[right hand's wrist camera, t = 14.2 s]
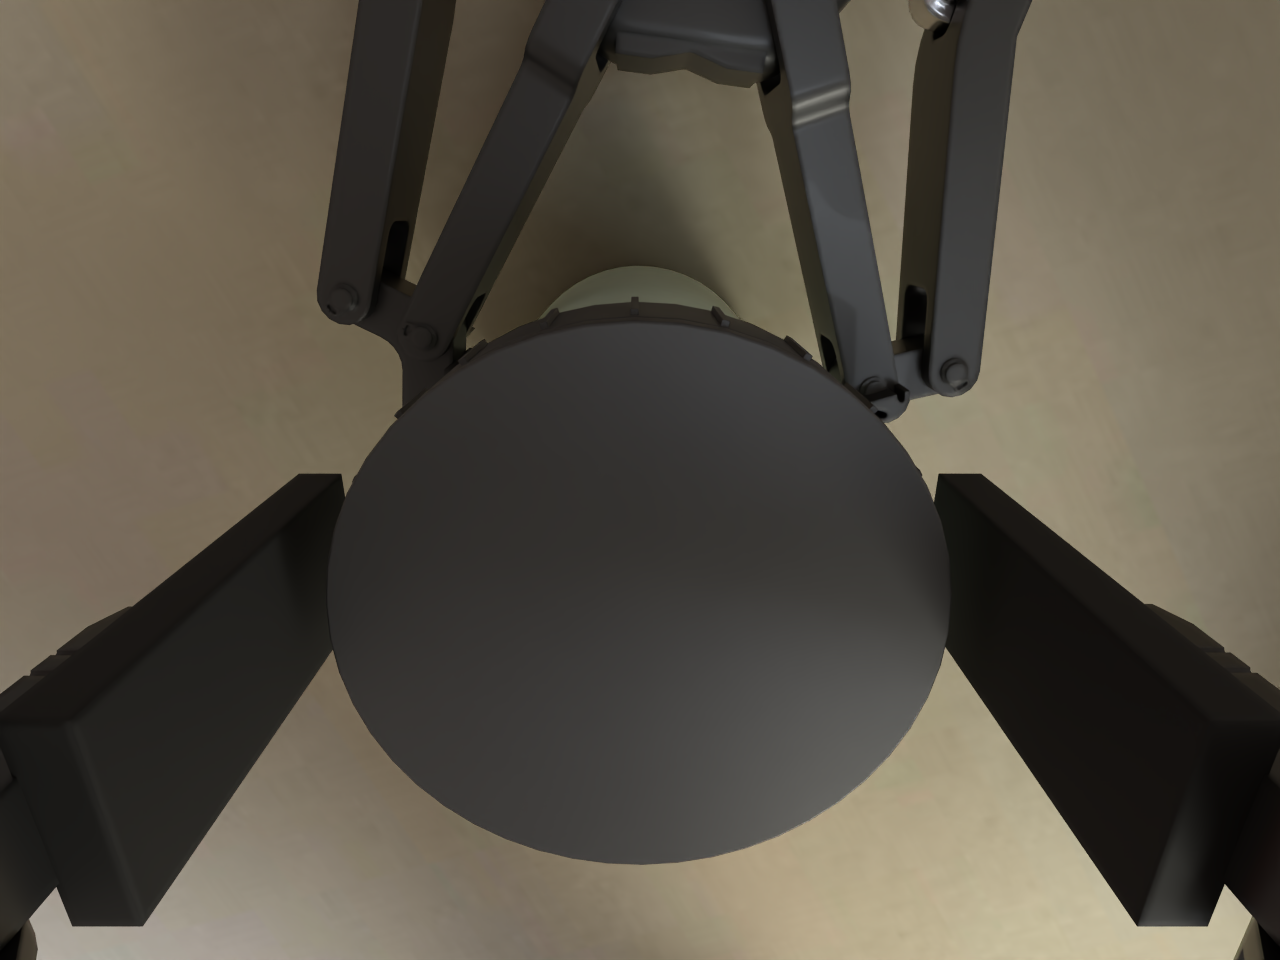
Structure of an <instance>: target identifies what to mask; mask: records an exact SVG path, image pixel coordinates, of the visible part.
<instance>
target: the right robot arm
mask: <svg viewBox="0 0 1280 960" xmlns="http://www.w3.org/2000/svg"><path fill="white" fill-rule="evenodd" d="M344 500H345V494H344V487H343V481H342V475H341V474H298V475H297V476H296V477H294V478H293V479H292V480H291V481H289V482H288V483H287V484H286V485H284V486H283V487H282V488H281V489H279V490H278V491H277V492H276V493H274V494H273V495H272V496H271V497H269V498H268V499H267V500H266V501H264V502H263V503H262V504H260V505H259V506H258V507H257V508H255V509H254V510H253V511H252V512H250V513H249V514H248V515H247V516H245V517H244V518H243V519H242V520H240V521H239V522H238V523H237V524H235V525H234V526H233V527H232V528H230V529H229V530H228V531H227V532H225V533H224V534H223V535H222V536H220V537H219V538H218V539H217V540H215V541H214V542H213V543H212V544H210V545H209V546H208V547H207V548H205V549H204V550H203V551H202V552H200V553H199V554H198V555H197V556H195V557H194V558H193V559H192V560H190V561H189V562H188V563H187V564H185V565H184V566H183V567H182V568H180V569H179V570H178V571H177V572H175V573H174V574H173V575H172V576H170V577H169V578H168V579H167V580H165V581H164V582H163V583H161V584H160V585H159V586H158V587H156V588H155V589H154V590H153V591H151V592H150V593H149V594H148V595H146V596H145V597H144V598H143V599H141V600H140V601H139V602H138V603H136V604H135V605H134V606H133V607H127V608H125V609H123V610H121V611H119V612H116V613H114V614H112V615H110V616H108V617H106V618H104V619H102V620H100V621H98V622H96V623H94V624H92V625H90V626H88V627H87V628H85V629H84V630H83V631H81V632H80V633H79V634H78V635H76V636H75V637H74V638H72V639H71V640H70V641H68V642H67V643H66V644H65V645H63V646H62V647H61V648H59V649H58V650H57V654H56V655H50V656H49V657H48V658H46V659H45V660H44V661H42V662H41V663H40V664H39V665H37V666H36V667H35V668H33V669H32V670H31V674H30V676H23V677H22V678H20V679H19V680H18V681H16V682H15V683H14V684H13V685H11V686H10V687H9V688H7V689H6V690H5V691H4V692H2V693H1V694H0V960H36V956H37V950H38V948H37V942H36V937H35V932H34V930H33V928H32V925H31V923H30V921H29V918H30V917H31V916H32V915H33V913H34V912H35V911H36V910H37V909H38V907H39V906H40V905H41V904H42V903H43V902H44V900H45V899H46V898H47V897H48V896H49V895H50V893H51V892H52V891H53V890H54V889H55V888H56V887H57V889H58V892H59V894H60V897H61V899H62V902H63V904H64V907H65V909H66V912H67V914H68V917H69V919H70V922H71V924H72V926H143V925H144V924H145V922H146V921H147V919H148V918H149V917H150V915H151V914H152V912H153V911H154V909H155V908H156V906H157V905H158V903H159V902H160V901H161V899H162V898H163V896H164V895H165V893H166V892H167V890H168V889H169V887H170V886H171V884H172V883H173V882H174V880H175V879H176V877H177V876H178V874H179V873H180V871H181V870H182V868H183V867H184V866H185V864H186V863H187V861H188V860H189V858H190V857H191V855H192V854H193V852H194V851H195V850H196V848H197V847H198V845H199V844H200V842H201V841H202V839H203V838H204V836H205V835H206V833H207V832H208V831H209V829H210V828H211V826H212V825H213V823H214V822H215V820H216V819H217V817H218V816H219V815H220V813H221V812H222V810H223V809H224V807H225V806H226V804H227V803H228V801H229V800H230V799H231V797H232V796H233V794H234V793H235V791H236V790H237V788H238V787H239V785H240V784H241V782H242V781H243V780H244V778H245V777H246V775H247V774H248V772H249V771H250V769H251V768H252V766H253V765H254V764H255V762H256V761H257V759H258V758H259V756H260V755H261V753H262V752H263V750H264V749H265V747H266V746H267V745H268V743H269V742H270V740H271V739H272V737H273V736H274V734H275V733H276V731H277V730H278V729H279V727H280V726H281V724H282V723H283V721H284V720H285V718H286V717H287V715H288V714H289V713H290V711H291V710H292V708H293V707H294V705H295V704H296V702H297V701H298V699H299V698H300V696H301V695H302V694H303V692H304V691H305V689H306V688H307V686H308V685H309V683H310V682H311V680H312V679H313V678H314V676H315V675H316V673H317V672H318V670H319V669H320V667H321V666H322V664H323V663H324V662H325V660H326V659H327V657H328V656H329V654H330V653H331V651H332V650H333V647H332V644H331V640H330V634H329V626H328V617H327V609H326V582H327V563H328V558H329V553H330V548H331V542H332V537H333V532H334V528H335V525H336V522H337V520H338V517H339V514H340V511H341V508H342V506H343V503H344ZM934 505H935V507H936V510H937V512H938V515H939V517H940V520H941V522H942V527H943V531H944V536H945V540H946V545H947V549H948V554H949V558H950V573H951V589H952V600H951V611H950V623H949V632H948V637H947V641H946V645H945V647H946V648H947V650H948V651H949V653H950V654H951V656H952V657H953V659H954V660H955V662H956V663H957V664H958V666H959V667H960V669H961V670H962V672H963V673H964V675H965V676H966V678H967V679H968V680H969V682H970V683H971V685H972V686H973V688H974V689H975V691H976V692H977V694H978V695H979V696H980V698H981V699H982V701H983V702H984V704H985V705H986V707H987V708H988V710H989V711H990V713H991V714H992V715H993V717H994V718H995V720H996V721H997V723H998V724H999V726H1000V727H1001V729H1002V730H1003V731H1004V733H1005V734H1006V736H1007V737H1008V739H1009V740H1010V742H1011V743H1012V745H1013V746H1014V747H1015V749H1016V750H1017V752H1018V753H1019V755H1020V756H1021V758H1022V759H1023V761H1024V762H1025V764H1026V765H1027V766H1028V768H1029V769H1030V771H1031V772H1032V774H1033V775H1034V777H1035V778H1036V780H1037V781H1038V782H1039V784H1040V785H1041V787H1042V788H1043V790H1044V791H1045V793H1046V794H1047V796H1048V797H1049V799H1050V800H1051V801H1052V803H1053V804H1054V806H1055V807H1056V809H1057V810H1058V812H1059V813H1060V815H1061V816H1062V817H1063V819H1064V820H1065V822H1066V823H1067V825H1068V826H1069V828H1070V829H1071V831H1072V832H1073V833H1074V835H1075V836H1076V838H1077V839H1078V841H1079V842H1080V844H1081V845H1082V847H1083V848H1084V850H1085V851H1086V852H1087V854H1088V855H1089V857H1090V858H1091V860H1092V861H1093V863H1094V864H1095V866H1096V867H1097V868H1098V870H1099V871H1100V873H1101V874H1102V876H1103V877H1104V879H1105V880H1106V882H1107V883H1108V884H1109V886H1110V887H1111V889H1112V890H1113V892H1114V893H1115V895H1116V896H1117V898H1118V899H1119V901H1120V902H1121V903H1122V905H1123V906H1124V908H1125V909H1126V911H1127V912H1128V914H1129V915H1130V917H1131V918H1132V919H1133V921H1134V922H1135V924H1136V925H1137V926H1208V924H1209V922H1210V919H1211V917H1212V914H1213V912H1214V909H1215V907H1216V904H1217V902H1218V899H1219V897H1220V894H1221V892H1222V889H1223V887H1224V884H1225V885H1226V886H1227V887H1228V888H1229V889H1230V890H1231V892H1232V893H1233V894H1234V895H1235V896H1236V897H1237V899H1238V900H1239V901H1240V902H1241V903H1242V904H1243V906H1244V907H1245V908H1246V909H1247V910H1248V911H1249V912H1250V914H1251V915H1252V918H1251V921H1250V923H1249V925H1248V928H1247V930H1246V932H1245V935H1244V937H1243V939H1242V941H1241V944H1240V946H1239V948H1238V951H1237V953H1236V955H1235V958H1234V960H1280V690H1279V689H1278V688H1276V687H1275V686H1274V685H1272V684H1271V683H1270V682H1268V681H1267V680H1266V679H1264V678H1263V677H1262V676H1261V675H1259V674H1258V673H1251V671H1250V667H1249V666H1247V665H1246V664H1245V663H1243V662H1242V661H1241V660H1240V659H1238V658H1237V657H1236V656H1234V655H1233V654H1232V653H1225V651H1224V647H1223V646H1221V645H1220V644H1219V643H1217V642H1216V641H1215V640H1213V639H1212V638H1211V637H1209V636H1208V635H1207V634H1206V633H1204V632H1203V631H1202V630H1200V629H1199V628H1198V627H1196V626H1195V625H1194V624H1192V623H1190V622H1188V621H1186V620H1184V619H1182V618H1180V617H1178V616H1176V615H1174V614H1172V613H1170V612H1167V611H1165V610H1163V609H1161V608H1159V607H1157V606H1155V605H1153V604H1144V603H1142V602H1141V601H1140V600H1139V599H1137V598H1136V597H1135V596H1134V595H1132V594H1131V593H1130V592H1129V591H1127V590H1126V589H1125V588H1124V587H1122V586H1121V585H1120V584H1119V583H1117V582H1116V581H1115V580H1113V579H1112V578H1111V577H1110V576H1108V575H1107V574H1106V573H1105V572H1103V571H1102V570H1101V569H1100V568H1098V567H1097V566H1096V565H1095V564H1093V563H1092V562H1091V561H1090V560H1088V559H1087V558H1086V557H1085V556H1083V555H1082V554H1081V553H1080V552H1078V551H1077V550H1076V549H1075V548H1073V547H1072V546H1071V545H1070V544H1068V543H1067V542H1066V541H1065V540H1063V539H1062V538H1061V537H1060V536H1058V535H1057V534H1056V533H1055V532H1053V531H1052V530H1051V529H1050V528H1048V527H1047V526H1046V525H1045V524H1043V523H1042V522H1041V521H1040V520H1038V519H1037V518H1036V517H1035V516H1033V515H1032V514H1031V513H1030V512H1028V511H1027V510H1026V509H1025V508H1023V507H1022V506H1021V505H1019V504H1018V503H1017V502H1016V501H1014V500H1013V499H1012V498H1011V497H1009V496H1008V495H1007V494H1006V493H1004V492H1003V491H1002V490H1001V489H999V488H998V487H997V486H996V485H994V484H993V483H992V482H991V481H989V480H988V479H987V478H986V477H984V476H983V475H982V474H939V475H938V481H937V487H936V494H935V500H934Z"/></svg>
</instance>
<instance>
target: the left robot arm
mask: <svg viewBox="0 0 1280 960" xmlns="http://www.w3.org/2000/svg"><path fill="white" fill-rule="evenodd" d="M849 1H850V0H546V1H545V3H544V5H543V7H542V9H541V11H540V13H539V16H538V18H537V20H536V22H535V24H534V26H533V28H532V31H531V33H530V35H529V38H528V41H527V44H526V47H525V53H524V58H523V61H522V64H521V66H520V69H519V71H518V73H517V75H516V77H515V79H514V81H513V83H512V86H511V88H510V90H509V92H508V94H507V96H506V98H505V100H504V102H503V105H502V107H501V109H500V111H499V113H498V115H497V117H496V119H495V121H494V123H493V126H492V128H491V130H490V132H489V134H488V136H487V138H486V140H485V142H484V145H483V147H482V149H481V151H480V153H479V155H478V157H477V159H476V161H475V164H474V166H473V168H472V170H471V172H470V174H469V176H468V178H467V180H466V183H465V185H464V187H463V189H462V191H461V193H460V195H459V197H458V199H457V201H456V204H455V206H454V208H453V210H452V212H451V214H450V216H449V218H448V220H447V223H446V225H445V227H444V229H443V231H442V233H441V235H440V237H439V239H438V242H437V244H436V246H435V248H434V250H433V252H432V254H431V256H430V258H429V260H428V263H427V265H426V267H425V269H424V271H423V273H422V275H421V277H420V279H419V282H418V284H417V285H415V284H413V283H411V282H409V281H407V280H405V276H406V271H407V265H408V260H409V255H410V249H411V244H412V239H413V233H414V228H415V223H416V217H417V212H418V207H419V201H420V196H421V191H422V185H423V180H424V175H425V169H426V164H427V159H428V153H429V148H430V143H431V137H432V132H433V126H434V121H435V116H436V110H437V105H438V100H439V94H440V89H441V84H442V78H443V73H444V68H445V62H446V57H447V52H448V46H449V41H450V36H451V30H452V25H453V19H454V11H455V4H456V0H359V5H358V12H357V18H356V25H355V32H354V39H353V46H352V53H351V60H350V67H349V73H348V80H347V87H346V94H345V101H344V108H343V115H342V121H341V128H340V135H339V142H338V149H337V156H336V163H335V169H334V176H333V183H332V190H331V197H330V204H329V211H328V218H327V224H326V231H325V238H324V245H323V252H322V259H321V266H320V272H319V279H318V286H317V301H318V303H319V305H320V308H321V310H322V312H323V313H324V314H325V315H326V316H327V317H328V318H329V319H331V320H333V321H335V322H337V323H338V324H345V325H351V324H355V325H357V326H359V327H361V328H363V329H365V330H367V331H369V332H371V333H374V334H376V335H378V336H380V337H382V338H383V339H385V340H386V341H388V342H389V343H390V344H391V345H392V346H393V347H394V348H395V350H396V351H397V353H398V354H399V357H400V359H401V362H402V369H403V400H402V407H403V406H404V405H406V404H407V403H408V402H409V401H410V400H411V399H413V398H414V397H415V396H416V395H417V394H419V393H420V392H421V391H422V390H423V389H424V388H426V387H427V388H428V389H430V388H431V387H432V386H434V385H435V384H436V383H437V382H438V381H439V380H440V379H442V378H443V377H444V376H445V375H446V374H447V373H448V372H450V371H451V370H452V369H453V368H454V367H455V366H457V365H458V364H459V362H458V360H459V359H460V358H461V357H463V356H464V355H465V354H466V353H467V352H468V351H470V350H471V349H472V348H469V349H468V350H467V351H466V337H467V336H469V335H470V334H471V333H472V331H473V330H474V329H475V328H474V327H472V326H473V324H474V322H475V320H476V318H477V316H478V314H479V312H480V310H481V308H482V306H483V304H484V302H485V300H486V298H487V296H488V294H489V293H490V291H491V289H492V287H493V285H494V283H495V281H496V279H497V277H498V275H499V273H500V271H501V269H502V267H503V265H504V263H505V261H506V259H507V257H508V255H509V253H510V251H511V249H512V248H513V246H514V244H515V242H516V240H517V238H518V236H519V234H520V232H521V230H522V228H523V226H524V224H525V222H526V220H527V218H528V216H529V214H530V212H531V210H532V208H533V206H534V204H535V203H536V201H537V199H538V197H539V195H540V193H541V191H542V189H543V187H544V185H545V183H546V181H547V179H548V177H549V175H550V173H551V171H552V169H553V167H554V165H555V163H556V161H557V159H558V158H559V156H560V154H561V152H562V150H563V148H564V146H565V144H566V142H567V140H568V138H569V136H570V134H571V132H572V130H573V128H574V126H575V124H576V122H577V120H578V118H579V116H580V115H581V113H582V111H583V109H584V108H585V107H586V105H587V104H588V103H589V101H590V99H591V98H592V96H593V94H594V92H595V91H596V89H597V87H598V85H599V83H600V81H601V79H602V77H603V75H604V73H605V71H606V69H607V67H608V65H609V63H610V61H611V62H613V63H615V64H617V68H618V70H621V71H628V72H636V73H643V74H656V73H663V72H669V71H675V70H681V69H685V70H689V71H691V72H693V73H695V74H697V75H699V76H702V77H704V78H706V79H708V80H710V81H712V82H715V83H717V84H723V85H730V86H737V87H745V88H750V87H751V86H752V85H753V84H754V83H757V87H758V92H759V96H760V101H761V105H762V110H763V114H764V118H765V121H766V124H767V127H768V129H769V131H770V133H771V135H772V138H773V142H774V146H775V151H776V156H777V160H778V165H779V169H780V174H781V178H782V183H783V187H784V192H785V196H786V201H787V206H788V210H789V215H790V219H791V224H792V228H793V233H794V237H795V242H796V247H797V251H798V256H799V260H800V265H801V269H802V274H803V278H804V283H805V287H806V292H807V297H808V301H809V306H810V310H811V315H812V319H813V324H814V328H815V333H816V337H817V342H818V347H819V351H820V356H821V360H822V365H823V368H824V369H825V370H827V371H828V372H829V373H830V374H831V375H832V376H833V377H834V378H836V379H837V380H838V381H839V382H840V383H841V384H842V385H844V384H845V383H846V382H847V383H849V384H850V385H851V386H852V387H853V388H854V389H856V390H857V391H858V392H859V393H860V394H862V395H863V396H864V397H865V398H866V399H867V400H869V401H870V402H871V403H872V404H873V405H874V406H875V407H876V408H877V409H878V411H877V412H876V413H875V415H876V416H878V417H879V418H880V419H881V420H882V421H883V423H889V422H891V421H893V420H895V419H897V418H898V417H899V416H900V415H901V414H902V413H903V412H904V411H905V410H906V408H907V406H908V404H909V401H910V400H912V399H916V398H921V397H925V396H930V395H934V394H940V395H942V396H947V397H955V396H959V395H962V394H964V393H965V392H967V391H968V390H970V389H971V388H972V386H973V385H974V384H975V382H976V381H977V379H978V375H979V372H980V365H981V356H982V347H983V338H984V329H985V320H986V311H987V302H988V293H989V284H990V275H991V266H992V257H993V247H994V238H995V229H996V220H997V211H998V202H999V193H1000V184H1001V175H1002V166H1003V157H1004V148H1005V139H1006V130H1007V121H1008V112H1009V103H1010V94H1011V85H1012V76H1013V67H1014V58H1015V49H1016V40H1017V35H1018V33H1019V30H1020V28H1021V26H1022V23H1023V21H1024V18H1025V16H1026V14H1027V11H1028V9H1029V7H1030V4H1031V2H1032V0H909V1H908V4H909V12H910V14H911V16H912V19H913V20H914V21H915V22H916V24H917V25H919V26H920V27H922V28H924V29H925V30H924V33H923V36H922V39H921V43H920V47H919V52H918V56H917V61H916V66H915V74H914V83H913V95H912V109H911V124H910V139H909V154H908V169H907V184H906V199H905V213H904V228H903V243H902V258H901V273H900V288H899V302H898V317H897V332H896V340H895V341H891V337H890V332H889V326H888V321H887V316H886V310H885V305H884V299H883V294H882V288H881V283H880V277H879V272H878V266H877V261H876V256H875V250H874V245H873V239H872V234H871V228H870V223H869V217H868V212H867V206H866V201H865V196H864V190H863V185H862V179H861V174H860V168H859V163H858V157H857V152H856V146H855V141H854V136H853V130H852V125H851V119H850V113H849V99H850V93H851V82H850V74H849V68H848V62H847V57H846V51H845V45H844V40H843V34H842V29H841V23H840V18H839V13H840V12H841V11H842V9H843V8H844V7H845V6H846V5H847V4H848V3H849Z"/></svg>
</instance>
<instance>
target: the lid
mask: <svg viewBox="0 0 1280 960" xmlns="http://www.w3.org/2000/svg"><path fill="white" fill-rule="evenodd" d="M812 357H813V356H812V355H811V354H809V353H808V352H807V351H806V350H805V349H804V348H803V347H801V346H800V345H799V344H798V343H797V342H796V341H795V340H793V339H792V338H791V337H789V336H786V337H785V339H784V340H783V339H781V338H779V337H777V336H775V335H773V334H771V333H769V332H767V331H765V330H763V329H761V328H759V327H757V326H755V325H753V324H751V323H748V322H745V321H742V320H739V319H736V318H733V317H730V316H727V315H725V314H724V313H723V312H722V310H721V309H720V308H719V307H716V306H712V310H711V311H710V310H705V309H700V308H695V307H689V306H684V305H679V304H670V303H652V302H639V297H631V302H624V303H611V304H599V305H592V306H587V307H583V308H578V309H573V310H569V311H564V312H560V313H559V310H558V308H554V309H551V310H550V311H549V313H548V314H547V315H546V316H545V317H544V318H542V319H539V320H536V321H534V322H531V323H528V324H525V325H523V326H520V327H518V328H516V329H514V330H512V331H510V332H508V333H507V334H505V335H503V336H501V337H499V338H497V339H495V340H493V341H491V342H490V343H487V342H486V340H485V339H484V340H482V341H481V342H479V343H478V344H477V345H476V346H474V347H473V348H472V349H471V350H470V351H468V352H467V353H466V354H465V355H464V356H463V357H461V358H460V359H459V360H458V362H459V364H458V365H457V366H455V367H454V368H453V369H452V370H451V371H450V372H448V373H447V374H446V375H445V376H444V377H443V378H442V379H440V380H439V381H438V382H437V383H436V384H435V385H434V386H432V387H431V388H430V389H428V388H427V387H426V388H424V389H423V390H422V391H421V392H420V393H419V394H417V395H416V396H415V397H414V398H413V399H411V400H410V401H409V402H408V403H407V404H406V405H404V406H403V407H402V408H401V409H400V410H399V411H398V412H397V413H396V414H395V415H394V416H395V417H396V418H397V420H396V421H395V422H394V423H393V424H392V425H391V426H390V427H389V429H388V430H387V431H386V433H385V434H384V435H383V437H382V438H381V439H380V441H379V442H378V443H377V445H376V446H375V447H374V448H373V450H372V451H371V452H370V454H369V455H368V456H367V458H366V459H365V461H364V463H363V465H362V466H361V468H360V470H359V472H358V474H357V475H356V476H355V477H354V479H353V481H352V485H351V487H350V489H349V490H348V492H347V494H346V497H345V500H344V503H343V506H342V508H341V511H340V514H339V517H338V520H337V522H336V525H335V528H334V532H333V537H332V542H331V548H330V553H329V558H328V563H327V582H326V609H327V617H328V626H329V634H330V640H331V644H332V647H333V651H334V655H335V659H336V662H337V666H338V670H339V673H340V675H341V677H342V680H343V682H344V684H345V687H346V689H347V691H348V694H349V696H350V698H351V701H352V703H353V705H354V707H355V708H356V710H357V712H358V713H359V715H360V717H361V718H362V720H363V721H364V723H365V725H366V726H367V728H368V730H369V731H370V733H371V734H372V736H373V737H374V738H375V739H376V741H377V742H378V743H379V745H380V746H381V747H382V748H383V750H384V751H385V752H386V753H387V755H388V756H389V757H390V758H391V760H392V761H393V762H394V763H395V764H396V765H397V766H398V767H399V768H400V769H401V770H402V771H403V772H404V773H405V774H406V775H407V776H409V777H410V778H411V779H412V780H413V781H414V782H415V783H416V784H417V785H418V786H419V787H420V788H422V789H423V790H424V791H426V792H427V793H428V794H430V795H431V796H432V797H433V798H435V799H436V800H437V801H439V802H440V803H441V804H442V805H444V806H445V807H447V808H449V809H450V810H452V811H453V812H455V813H457V814H458V815H460V816H462V817H463V818H465V819H467V820H468V821H470V822H471V823H473V824H475V825H477V826H479V827H481V828H484V829H486V830H488V831H490V832H492V833H494V834H496V835H498V836H501V837H503V838H505V839H507V840H510V841H513V842H516V843H519V844H522V845H525V846H527V847H530V848H533V849H536V850H539V851H543V852H547V853H552V854H556V855H560V856H564V857H568V858H572V859H580V860H587V861H594V862H602V863H613V864H639V865H645V864H662V863H678V862H684V861H691V860H697V859H703V858H710V857H714V856H718V855H722V854H726V853H730V852H734V851H737V850H741V849H745V848H748V847H751V846H753V845H756V844H759V843H761V842H764V841H767V840H769V839H772V838H775V837H777V836H780V835H782V834H784V833H786V832H788V831H790V830H792V829H794V828H796V827H798V826H800V825H802V824H804V823H806V822H808V821H810V820H811V819H813V818H815V817H816V816H818V815H819V814H821V813H822V812H824V811H826V810H827V809H829V808H830V807H832V806H833V805H835V804H836V803H838V802H839V801H841V800H842V799H843V798H844V797H846V796H847V795H848V794H849V793H851V792H852V791H853V790H854V789H855V788H857V787H858V786H859V785H860V784H862V783H863V782H864V781H865V780H866V779H867V778H868V777H869V776H870V775H871V774H872V773H873V772H874V771H875V770H876V769H877V768H878V767H879V766H880V765H881V764H882V763H883V762H884V761H885V760H886V759H887V758H888V757H889V756H890V754H891V753H892V752H893V750H894V749H895V748H896V747H897V745H898V744H899V743H900V741H901V740H902V739H903V737H904V736H905V735H906V733H907V732H908V731H909V729H910V728H911V726H912V724H913V723H914V721H915V719H916V717H917V716H918V714H919V712H920V710H921V709H922V707H923V705H924V703H925V702H926V700H927V698H928V696H929V693H930V691H931V688H932V686H933V683H934V681H935V678H936V676H937V673H938V671H939V668H940V666H941V661H942V657H943V653H944V649H945V645H946V641H947V637H948V632H949V623H950V611H951V600H952V589H951V573H950V558H949V554H948V549H947V545H946V540H945V536H944V531H943V527H942V522H941V520H940V517H939V515H938V512H937V510H936V507H935V505H934V502H933V499H932V497H931V494H930V492H929V489H928V487H927V485H926V483H925V481H924V480H923V478H922V473H921V471H920V470H919V469H918V468H917V467H916V466H915V464H914V463H913V461H912V459H911V457H910V456H909V454H908V452H907V451H906V450H905V449H904V447H903V446H902V445H901V444H900V442H899V441H898V440H897V439H896V437H895V436H894V435H893V434H892V433H891V431H890V430H889V429H888V428H887V426H886V425H885V424H884V423H883V421H882V420H881V419H880V418H879V417H878V416H876V415H875V413H876V412H877V411H878V409H877V408H876V407H875V406H874V405H873V404H872V403H871V402H870V401H869V400H867V399H866V398H865V397H864V396H863V395H862V394H860V393H859V392H858V391H857V390H856V389H854V388H853V387H852V386H851V385H850V384H849V383H847V382H846V383H845V384H844V385H842V384H841V383H840V382H839V381H838V380H837V379H836V378H834V377H833V376H832V375H831V374H830V373H829V372H828V371H827V370H825V369H824V368H823V367H822V366H821V365H820V364H819V363H817V362H816V361H815V360H813V359H812Z"/></svg>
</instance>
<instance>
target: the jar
mask: <svg viewBox="0 0 1280 960" xmlns="http://www.w3.org/2000/svg"><path fill="white" fill-rule="evenodd" d="M631 297H639V302H652V303H670V304H679V305H684V306H689V307H695V308H700V309H705V310H710V311H711V310H712V306H716V307H719V308H720V309H721V310H722V312H723V313H724V314H725V315H727V316H730V317H733V318H736V319H739V317H738V316H737V315H736V314H735V313H734V312H733V311H732V310H731V308H730V307H729V306H728V305H727V304H726V303H725V302H724V301H723V300H722V299H721V298H720V297H719V296H718V295H717V294H715V293H714V292H713V291H712V290H710V289H709V288H707V287H706V286H705V285H703V284H702V283H700V282H698V281H696V280H694V279H692V278H690V277H688V276H686V275H684V274H681V273H678V272H675V271H672V270H669V269H664V268H659V267H653V266H627V267H619V268H614V269H610V270H605V271H603V272H600V273H597V274H595V275H592V276H589V277H588V278H586V279H584V280H582V281H580V282H578V283H576V284H575V285H573V286H572V287H571V288H569V289H568V290H567V291H565V292H564V293H563V294H561V295H560V296H559V297H558V298H557V299H556V300H555V301H554V302H553V303H552V304H551V305H550V306H549V307H548V309H547V310H546V311H545V312H544V313H543V314H542V315H541V316H540V317H539V319H542V318H544V317H545V316H546V315H547V314H548V313H549V311H550V310H551V309H554V308H558V310H559V313H560V312H564V311H569V310H573V309H578V308H583V307H587V306H592V305H599V304H611V303H624V302H631ZM539 319H538V320H539ZM739 320H740V319H739Z"/></svg>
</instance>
